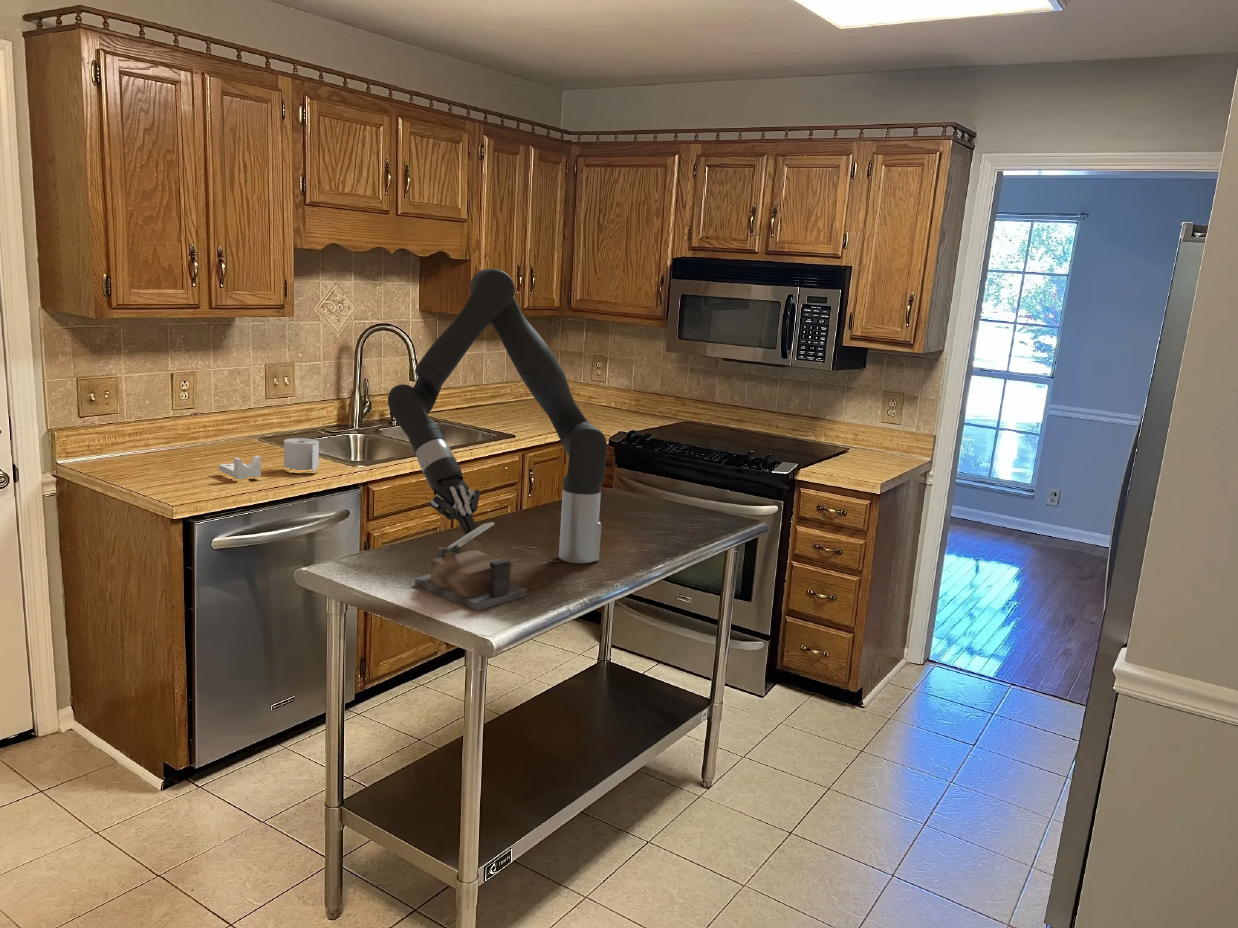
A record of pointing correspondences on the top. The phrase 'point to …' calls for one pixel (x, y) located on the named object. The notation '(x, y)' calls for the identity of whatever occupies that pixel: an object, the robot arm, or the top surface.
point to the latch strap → (468, 537)
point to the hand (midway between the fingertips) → (472, 532)
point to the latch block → (471, 579)
